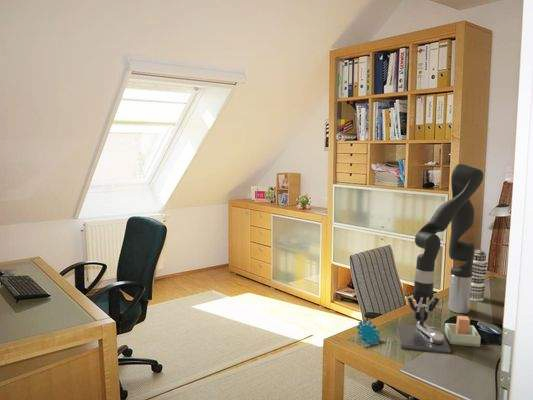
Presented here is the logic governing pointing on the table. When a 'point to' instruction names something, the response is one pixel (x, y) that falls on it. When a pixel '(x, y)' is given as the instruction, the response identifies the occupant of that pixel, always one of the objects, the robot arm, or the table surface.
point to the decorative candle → (478, 275)
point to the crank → (429, 329)
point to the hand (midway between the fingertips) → (420, 319)
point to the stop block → (462, 325)
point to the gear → (368, 332)
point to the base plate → (419, 339)
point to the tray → (462, 336)
